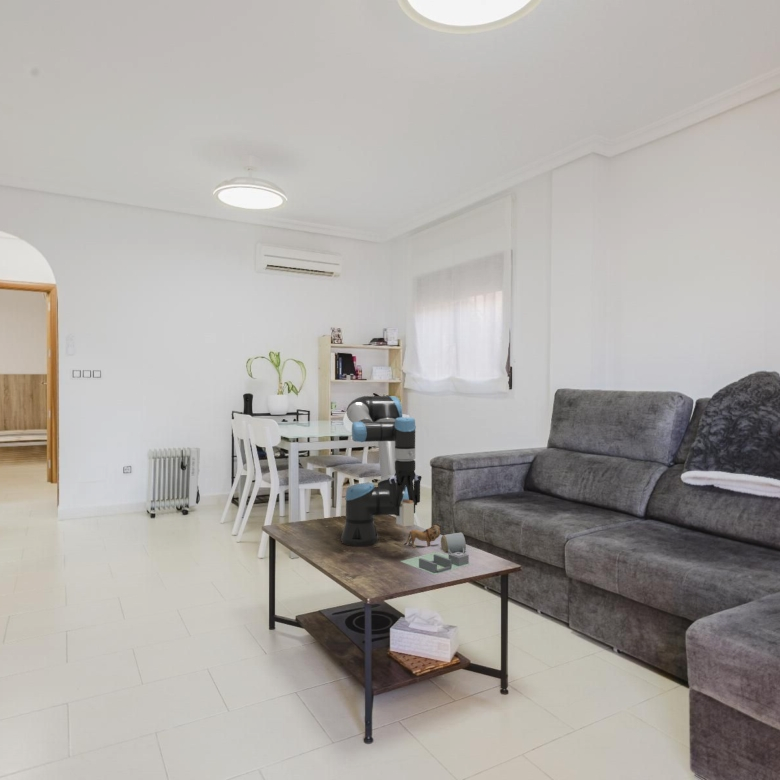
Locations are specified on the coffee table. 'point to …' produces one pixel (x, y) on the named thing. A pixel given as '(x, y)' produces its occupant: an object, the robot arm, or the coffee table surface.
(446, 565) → the header
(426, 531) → the lion figurine
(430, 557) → the board
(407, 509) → the plug
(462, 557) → the fan
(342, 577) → the coffee table surface
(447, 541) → the ceramic mug
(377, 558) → the coffee table surface
